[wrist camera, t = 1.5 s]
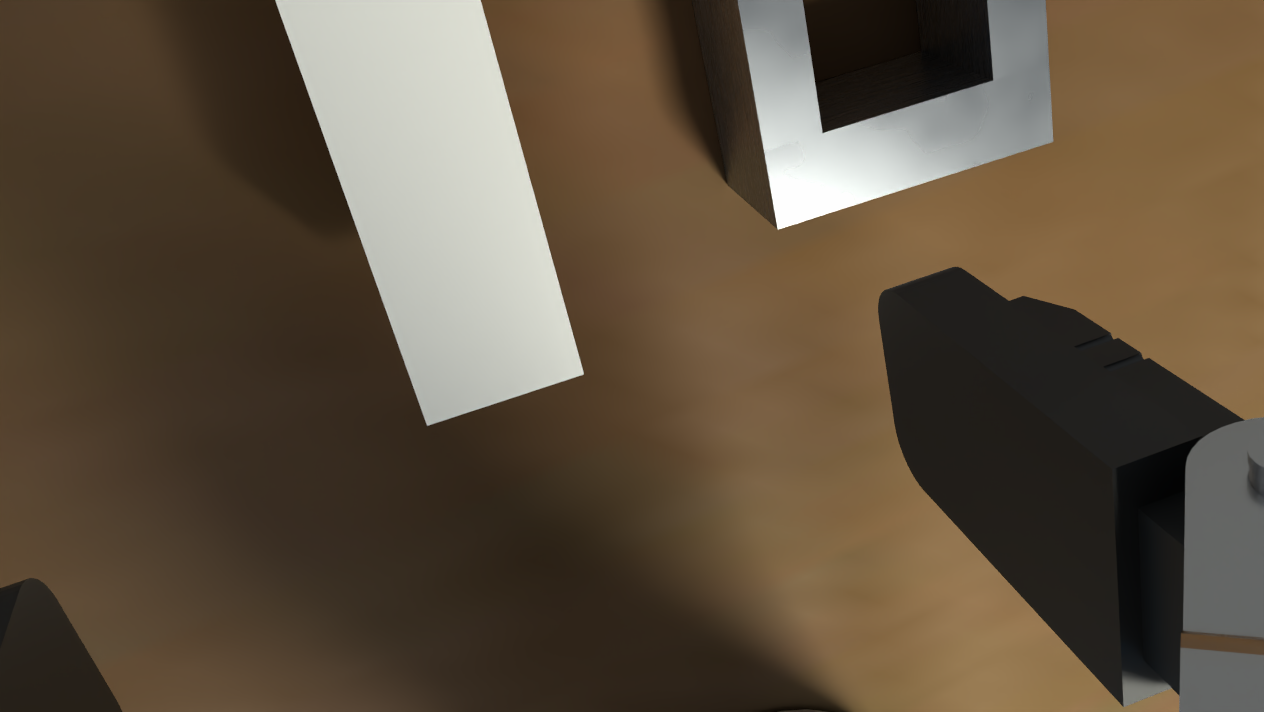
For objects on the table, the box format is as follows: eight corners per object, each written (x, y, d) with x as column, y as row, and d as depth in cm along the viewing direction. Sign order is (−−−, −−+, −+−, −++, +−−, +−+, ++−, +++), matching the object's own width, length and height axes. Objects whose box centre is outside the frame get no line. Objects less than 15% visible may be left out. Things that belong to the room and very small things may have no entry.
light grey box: (521, 253, 30) (583, 374, 24) (396, 293, 29) (427, 425, 23) (397, -175, 25) (434, -165, 19) (246, -136, 25) (234, -112, 18)
